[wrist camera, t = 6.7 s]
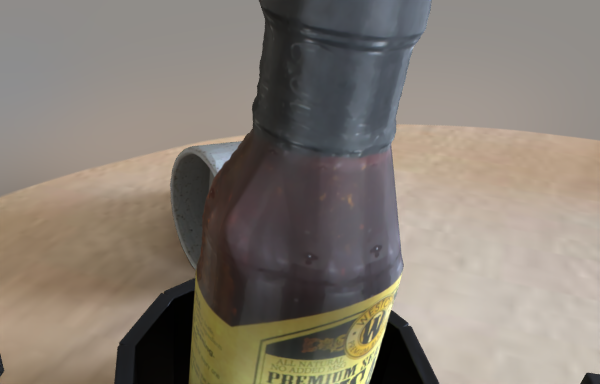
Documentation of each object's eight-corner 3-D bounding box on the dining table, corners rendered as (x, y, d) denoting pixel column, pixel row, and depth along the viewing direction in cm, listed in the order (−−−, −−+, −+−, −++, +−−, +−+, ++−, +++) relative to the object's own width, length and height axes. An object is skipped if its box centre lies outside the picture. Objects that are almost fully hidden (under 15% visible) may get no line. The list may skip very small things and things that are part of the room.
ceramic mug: (340, 265, 35) (360, 156, 31) (225, 310, 30) (231, 189, 26) (251, 186, 42) (258, 89, 38) (146, 213, 37) (143, 106, 33)
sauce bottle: (250, 599, 19) (342, 3, 9) (152, 464, 23) (135, -70, 12) (373, 480, 23) (535, -19, 13) (274, 382, 27) (337, -69, 16)
